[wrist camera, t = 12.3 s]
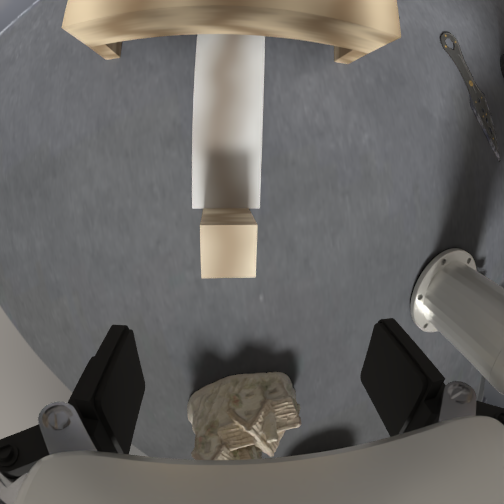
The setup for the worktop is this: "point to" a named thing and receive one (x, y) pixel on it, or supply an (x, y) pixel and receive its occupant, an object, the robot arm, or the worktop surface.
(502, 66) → the travel mug
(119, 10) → the oak bench
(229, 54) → the tan piece
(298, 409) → the ceramic cottage
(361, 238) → the worktop surface
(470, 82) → the throwing knife
